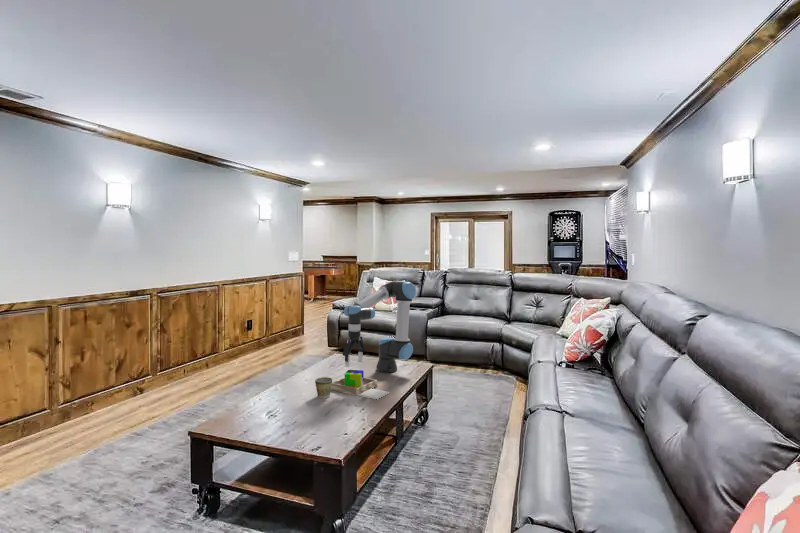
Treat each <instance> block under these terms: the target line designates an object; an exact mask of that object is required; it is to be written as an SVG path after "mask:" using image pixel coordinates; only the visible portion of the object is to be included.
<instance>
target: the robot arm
mask: <svg viewBox="0 0 800 533" xmlns="http://www.w3.org/2000/svg"><path fill="white" fill-rule="evenodd" d="M416 295H417V289H416V287H415V285H414V283H413V282H410V281H401V280H400V281H397V280H393V281H390V282H387V283H385V284H383V285H381V286H380V287H379V288H378V290H376V291H375V292H372V293H370V294H369V295H367V296H366V297H364V298H362V299H361V300H359V301H357V302H356V303H354V304H352V305H351V304H350V305H346V306H345V307H344V309H343V313H344V316H345V317H348V328H347V329H348V331H347V335H348V338H349V339H346V340H345V345H344V348H343V352H342V356H343V357H344V366H345V367H346V368H350V354H351V351H352V350H353V348H354V347H355V346H356V348H357V350H358V353H357V355H358V358H357V359H358V360H357V361H358V362H357V363H363V355H364V354H363V353H364V352H365V350H366V347H365V344H364V341H363V336H361V325H362V324H361V322H362V321H365V320H372V319H374V318H375V317H376V311H375V309H374V308H373V306H375V305H377V304H378V303H380V302H382V301H383V300H387V299H390V298H395V301H396V303H397V308H396V310H397V311H396V324H395V325H396V326H395V327H396V328H395V329H396V330H395V337H384V338H380V339H379V341H378V360H377V364H376V368H375V369H376V370H375V371H377V372H378V373H386V374H387V373H388V374H389V373H394V372H397V371H398V365H397V361H396V359H399V360H406V361H407V360H408V359H409V358H410V357H411V356H413V353H414V346H413V344H412V343H411V339H410V338H409V325H410V323H409V322H410V308H411V307H410V305H411V303H412V302H413V299H415V296H416Z"/></svg>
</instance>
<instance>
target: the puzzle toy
mask: <svg viewBox="0 0 800 533" xmlns="http://www.w3.org/2000/svg"><path fill="white" fill-rule="evenodd" d="M364 372H365V371H364V370H361V369H348V370H346V372H345V373H344V378H345V384H344V385H345V386H350V387H354V388H359V387H361V386H363V385H364V384H363V380H364V378H365V377H364V375H365V374H364Z"/></svg>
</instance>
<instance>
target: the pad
mask: <svg viewBox="0 0 800 533" xmlns="http://www.w3.org/2000/svg"><path fill="white" fill-rule="evenodd" d="M387 394H388V395H390V391H386V390H383V389H377V388H373V389H372V388H371V389H369V390H367V391H365V392H363V393H361V394H359V395H358V396H359V397H363V398H367V399H368V398H369V399H371V398H372V399H371V400H376V399H377V400H380V399H382V398H384V397H386V396H387ZM385 395H386V396H385ZM383 396H384V397H383ZM381 397H382V398H381ZM379 398H380V399H379Z"/></svg>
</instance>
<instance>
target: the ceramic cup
mask: <svg viewBox="0 0 800 533" xmlns="http://www.w3.org/2000/svg"><path fill="white" fill-rule="evenodd" d="M314 381H315V382H314V383H315V388H316V394H317V397H318V398H319V399H327V398H329V397H330V395H331V391H332V390H331V385H332V382H333V378H332V377H328V376H326V377H325V376H322V377H318V378H316V379H315V380H314Z"/></svg>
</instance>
